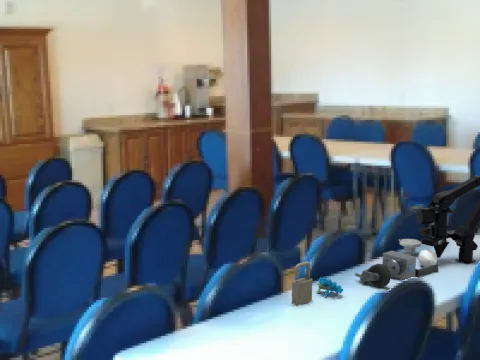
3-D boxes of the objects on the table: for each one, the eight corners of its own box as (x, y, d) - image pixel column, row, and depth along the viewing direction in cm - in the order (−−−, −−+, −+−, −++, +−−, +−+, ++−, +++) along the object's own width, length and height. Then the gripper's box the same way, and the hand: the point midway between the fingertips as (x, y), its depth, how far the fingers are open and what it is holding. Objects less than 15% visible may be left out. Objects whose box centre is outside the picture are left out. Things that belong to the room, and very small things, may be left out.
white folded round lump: (432, 270, 289) (433, 253, 288) (415, 267, 294) (415, 250, 292) (439, 266, 296) (440, 249, 294) (422, 263, 300) (423, 246, 299)
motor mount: (409, 263, 299) (410, 243, 297) (438, 272, 288) (440, 251, 286) (376, 274, 284) (377, 253, 283) (405, 283, 273) (406, 261, 272)
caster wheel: (391, 289, 269) (358, 277, 278) (394, 266, 266) (361, 255, 276) (383, 293, 265) (351, 281, 274) (387, 269, 262) (353, 258, 272)
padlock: (290, 302, 251) (290, 263, 248) (305, 298, 256) (306, 259, 253) (298, 305, 248) (298, 265, 245) (313, 300, 253) (314, 261, 250)
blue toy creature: (348, 292, 258) (334, 277, 253) (342, 305, 256) (327, 290, 251) (327, 288, 266) (313, 273, 262) (320, 301, 264) (306, 286, 259)
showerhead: (396, 236, 316) (418, 236, 316) (395, 251, 317) (417, 252, 317) (400, 242, 307) (423, 242, 306) (400, 257, 308) (422, 258, 308)
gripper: (436, 216, 309) (435, 249, 311) (411, 222, 297) (410, 257, 299) (458, 220, 300) (456, 255, 303) (433, 227, 288) (431, 263, 291)
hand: (438, 257), depth 299 cm, fingers closed
